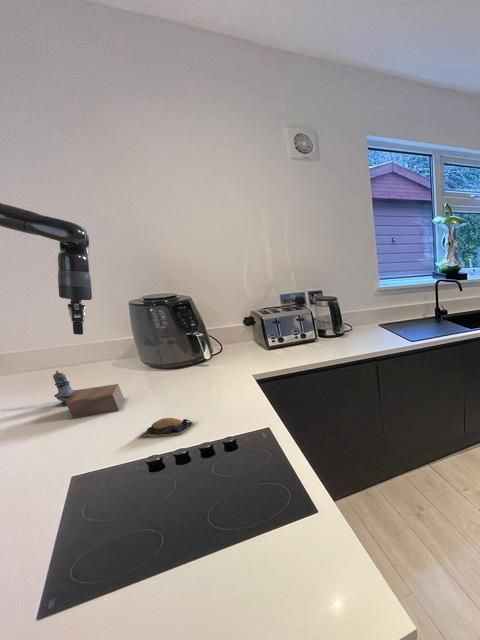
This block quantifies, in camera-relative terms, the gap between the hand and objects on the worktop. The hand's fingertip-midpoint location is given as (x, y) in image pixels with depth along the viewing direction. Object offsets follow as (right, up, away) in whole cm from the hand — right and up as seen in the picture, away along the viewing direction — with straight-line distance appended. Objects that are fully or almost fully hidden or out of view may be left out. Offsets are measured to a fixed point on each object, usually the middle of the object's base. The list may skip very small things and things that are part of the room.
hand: (78, 332), depth 136 cm
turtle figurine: (+43, -32, -14) cm, 56 cm away
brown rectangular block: (+9, -26, -1) cm, 27 cm away
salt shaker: (-5, -24, +2) cm, 25 cm away
